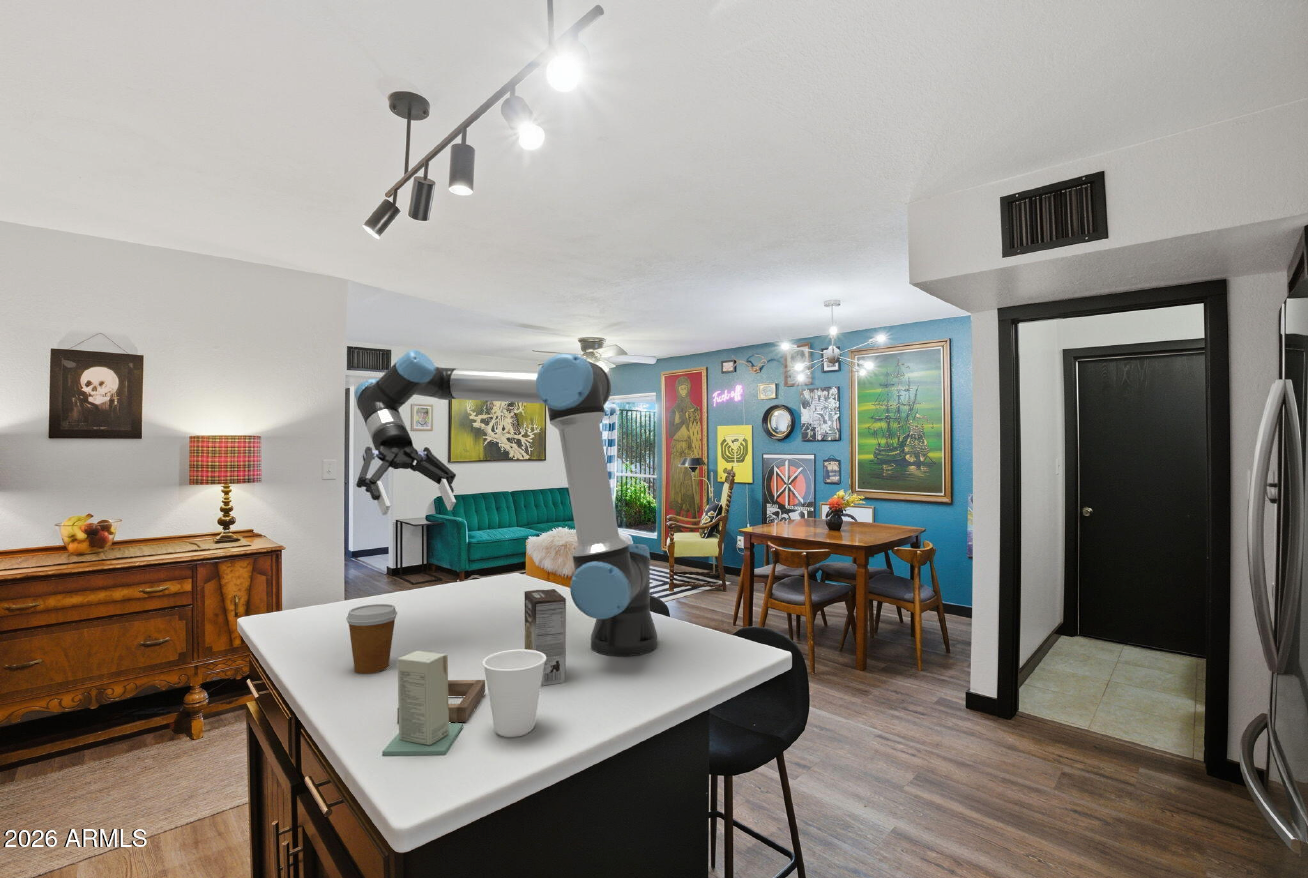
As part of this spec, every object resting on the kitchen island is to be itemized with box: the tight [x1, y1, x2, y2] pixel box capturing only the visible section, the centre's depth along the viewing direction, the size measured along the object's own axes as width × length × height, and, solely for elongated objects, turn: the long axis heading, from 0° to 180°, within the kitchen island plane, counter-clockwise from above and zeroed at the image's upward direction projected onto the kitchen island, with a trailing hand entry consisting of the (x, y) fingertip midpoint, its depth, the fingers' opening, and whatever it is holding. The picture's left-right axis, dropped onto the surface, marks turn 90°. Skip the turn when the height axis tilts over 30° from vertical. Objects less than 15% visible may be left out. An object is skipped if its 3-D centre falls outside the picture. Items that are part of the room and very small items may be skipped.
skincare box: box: [397, 650, 449, 745], centre depth 92 cm, size 6×4×12 cm
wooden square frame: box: [396, 679, 486, 725], centre depth 104 cm, size 11×12×2 cm
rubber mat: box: [381, 723, 464, 757], centre depth 92 cm, size 9×9×1 cm
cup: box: [481, 648, 546, 738], centre depth 96 cm, size 10×10×11 cm
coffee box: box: [523, 588, 567, 687], centre depth 119 cm, size 9×6×16 cm
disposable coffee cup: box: [345, 603, 398, 675], centre depth 124 cm, size 10×10×12 cm
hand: (420, 508), depth 122 cm, fingers open, 13 cm apart
